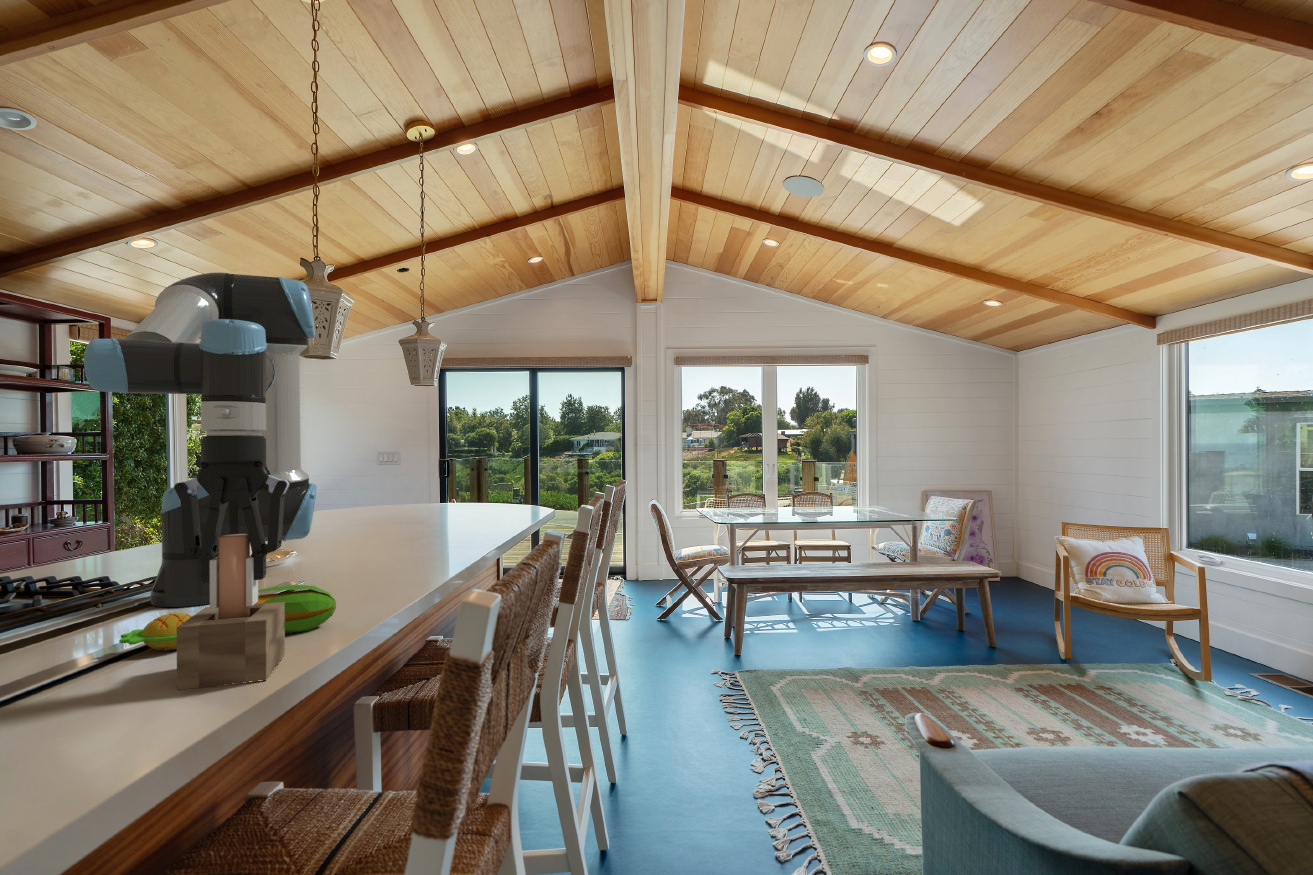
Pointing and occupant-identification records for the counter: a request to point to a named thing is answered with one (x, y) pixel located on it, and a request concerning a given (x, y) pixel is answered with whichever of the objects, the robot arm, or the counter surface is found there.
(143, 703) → the counter surface
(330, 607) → the corn
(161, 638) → the toy pineapple
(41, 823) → the counter surface
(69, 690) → the counter surface
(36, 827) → the counter surface
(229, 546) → the peg
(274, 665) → the socket block
